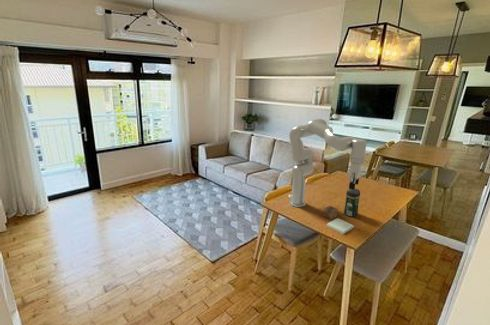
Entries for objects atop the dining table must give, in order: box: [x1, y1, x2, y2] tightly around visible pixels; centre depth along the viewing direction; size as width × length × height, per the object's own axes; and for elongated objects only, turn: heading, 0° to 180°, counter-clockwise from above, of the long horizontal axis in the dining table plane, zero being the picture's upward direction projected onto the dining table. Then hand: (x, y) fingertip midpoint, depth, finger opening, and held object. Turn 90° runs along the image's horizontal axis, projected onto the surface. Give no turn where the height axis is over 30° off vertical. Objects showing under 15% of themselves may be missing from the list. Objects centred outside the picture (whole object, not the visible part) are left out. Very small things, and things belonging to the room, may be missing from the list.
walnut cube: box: [323, 205, 338, 220], centre depth 177 cm, size 6×6×6 cm
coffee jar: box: [343, 188, 361, 217], centre depth 178 cm, size 10×8×19 cm
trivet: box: [326, 217, 355, 235], centre depth 165 cm, size 12×12×2 cm
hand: (353, 186), depth 157 cm, fingers open, 9 cm apart
